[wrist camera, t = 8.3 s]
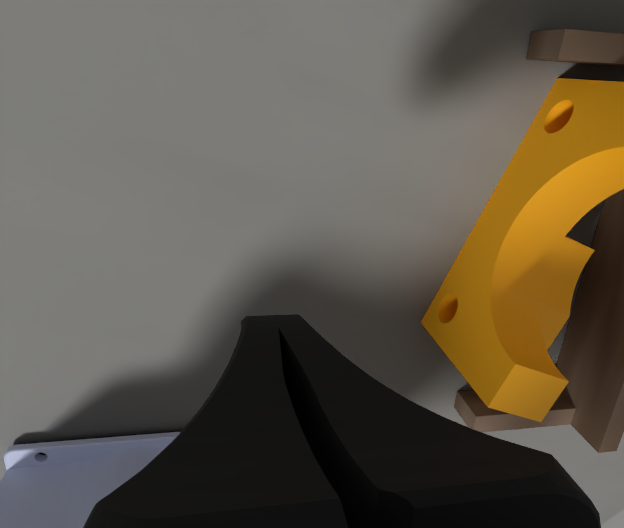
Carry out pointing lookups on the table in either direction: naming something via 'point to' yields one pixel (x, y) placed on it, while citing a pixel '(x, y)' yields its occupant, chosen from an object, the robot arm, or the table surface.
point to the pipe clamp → (531, 250)
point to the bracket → (582, 296)
